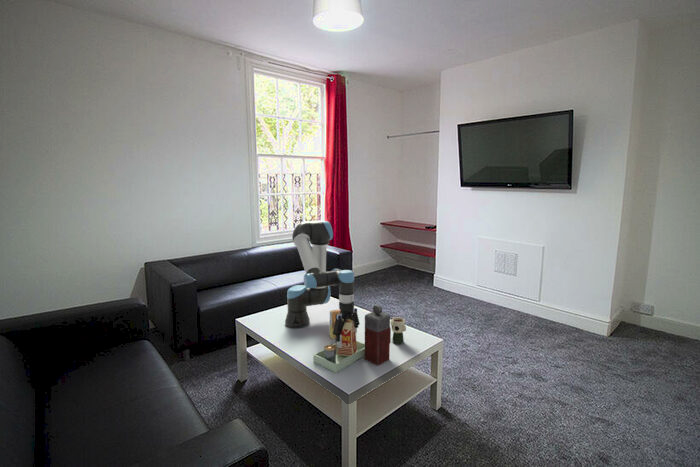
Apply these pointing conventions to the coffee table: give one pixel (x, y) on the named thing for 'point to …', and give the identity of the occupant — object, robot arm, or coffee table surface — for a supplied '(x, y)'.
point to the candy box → (333, 321)
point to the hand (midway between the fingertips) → (346, 343)
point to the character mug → (398, 329)
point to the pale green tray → (339, 358)
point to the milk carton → (348, 339)
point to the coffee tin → (330, 353)
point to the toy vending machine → (377, 336)
